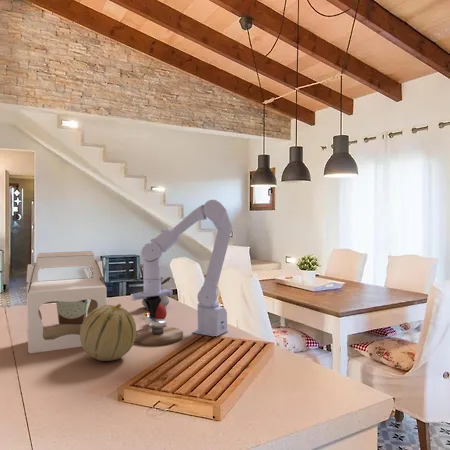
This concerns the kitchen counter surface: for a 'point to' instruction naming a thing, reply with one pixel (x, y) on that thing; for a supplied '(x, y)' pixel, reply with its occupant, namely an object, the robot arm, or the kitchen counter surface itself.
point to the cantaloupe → (108, 332)
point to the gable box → (61, 298)
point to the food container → (71, 312)
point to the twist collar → (154, 321)
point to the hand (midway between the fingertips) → (152, 319)
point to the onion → (161, 312)
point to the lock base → (158, 336)
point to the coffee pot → (163, 298)
